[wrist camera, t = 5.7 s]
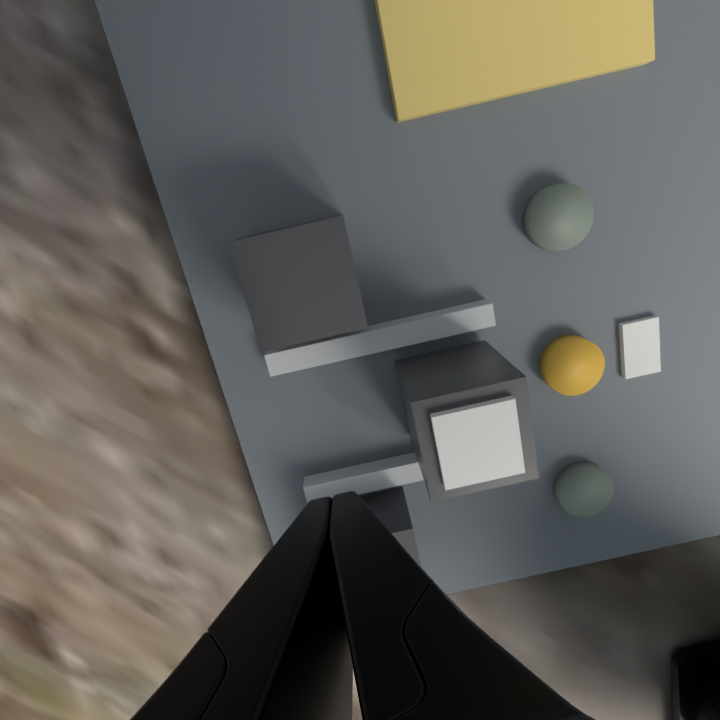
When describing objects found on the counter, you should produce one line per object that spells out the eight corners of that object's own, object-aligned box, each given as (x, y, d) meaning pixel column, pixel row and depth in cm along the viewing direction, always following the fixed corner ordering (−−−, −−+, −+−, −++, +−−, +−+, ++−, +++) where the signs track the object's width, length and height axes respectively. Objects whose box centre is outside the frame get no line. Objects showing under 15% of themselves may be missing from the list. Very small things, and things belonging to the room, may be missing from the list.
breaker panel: (698, 511, 17) (778, 578, 14) (302, 598, 17) (295, 682, 14) (689, -241, 11) (825, -413, 8) (81, -92, 11) (-13, -203, 8)
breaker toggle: (497, 422, 14) (542, 483, 11) (411, 442, 14) (432, 507, 11) (484, 340, 13) (529, 380, 10) (394, 360, 13) (412, 406, 10)
